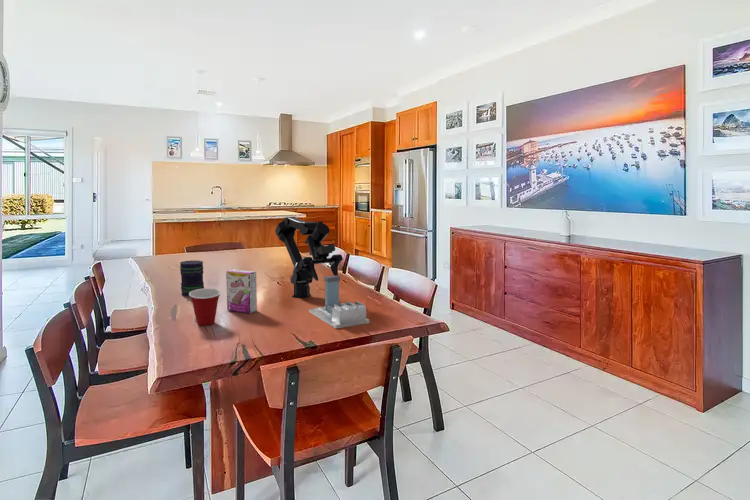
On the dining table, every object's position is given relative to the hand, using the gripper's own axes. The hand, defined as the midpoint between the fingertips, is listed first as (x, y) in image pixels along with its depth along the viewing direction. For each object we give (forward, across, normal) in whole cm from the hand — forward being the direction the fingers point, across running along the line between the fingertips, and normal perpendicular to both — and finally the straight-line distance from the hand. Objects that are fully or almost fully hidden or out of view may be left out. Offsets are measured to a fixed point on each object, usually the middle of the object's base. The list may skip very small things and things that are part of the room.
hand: (327, 279), depth 181 cm
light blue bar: (+15, -3, -2) cm, 15 cm away
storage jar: (-24, -40, +50) cm, 68 cm away
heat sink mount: (+18, -3, -3) cm, 19 cm away
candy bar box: (+1, -31, +19) cm, 37 cm away
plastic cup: (+6, -48, +12) cm, 50 cm away
